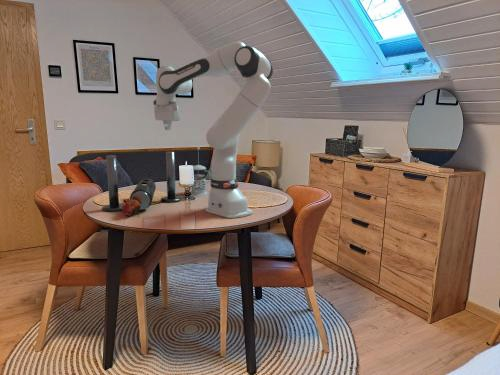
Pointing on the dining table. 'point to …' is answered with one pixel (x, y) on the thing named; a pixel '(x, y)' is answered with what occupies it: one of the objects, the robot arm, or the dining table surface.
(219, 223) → the dining table surface
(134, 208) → the pomegranate
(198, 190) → the french press
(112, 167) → the posts
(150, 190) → the muzzle brake
